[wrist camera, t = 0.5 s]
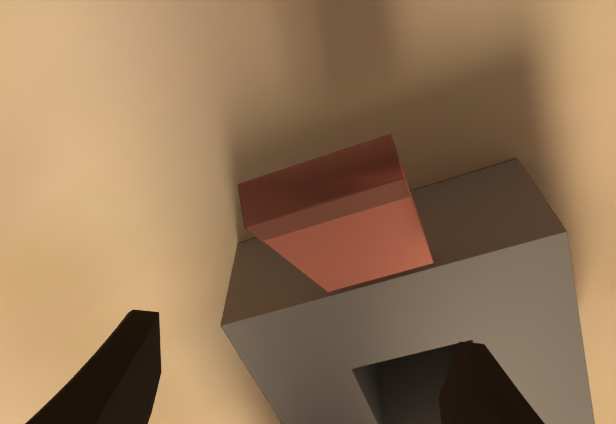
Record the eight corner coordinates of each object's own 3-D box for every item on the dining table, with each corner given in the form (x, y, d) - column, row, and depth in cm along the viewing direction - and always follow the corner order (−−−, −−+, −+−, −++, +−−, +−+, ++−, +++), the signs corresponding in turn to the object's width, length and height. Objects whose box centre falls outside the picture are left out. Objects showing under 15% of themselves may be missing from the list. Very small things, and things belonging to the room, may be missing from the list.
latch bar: (424, 232, 18) (433, 264, 18) (321, 262, 19) (328, 293, 18) (390, 134, 12) (404, 178, 11) (237, 184, 12) (244, 228, 12)
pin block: (555, 359, 27) (598, 450, 23) (329, 411, 30) (331, 501, 26) (517, 158, 21) (566, 231, 17) (237, 243, 24) (220, 325, 20)
